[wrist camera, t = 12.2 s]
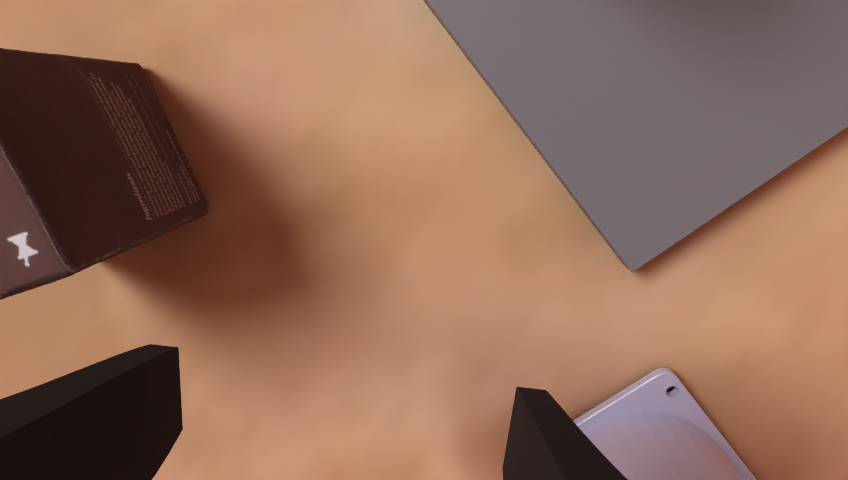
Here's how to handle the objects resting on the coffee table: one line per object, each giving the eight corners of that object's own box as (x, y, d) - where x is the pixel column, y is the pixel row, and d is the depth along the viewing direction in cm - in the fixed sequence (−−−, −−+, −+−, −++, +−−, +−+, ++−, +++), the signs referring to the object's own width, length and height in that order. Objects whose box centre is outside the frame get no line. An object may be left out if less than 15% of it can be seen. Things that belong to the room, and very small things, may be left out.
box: (146, 60, 18) (-58, 31, 11) (215, 213, 19) (76, 277, 12) (9, 114, 18) (-265, 121, 11) (85, 256, 20) (-116, 340, 13)
